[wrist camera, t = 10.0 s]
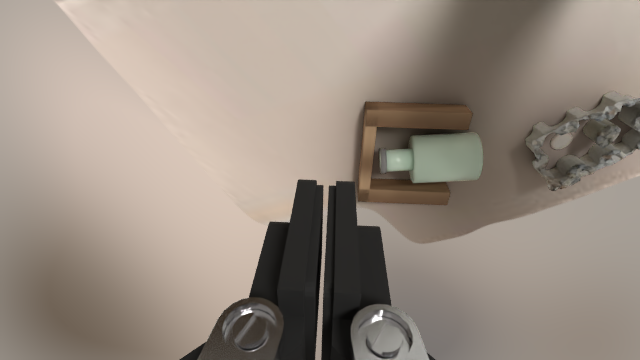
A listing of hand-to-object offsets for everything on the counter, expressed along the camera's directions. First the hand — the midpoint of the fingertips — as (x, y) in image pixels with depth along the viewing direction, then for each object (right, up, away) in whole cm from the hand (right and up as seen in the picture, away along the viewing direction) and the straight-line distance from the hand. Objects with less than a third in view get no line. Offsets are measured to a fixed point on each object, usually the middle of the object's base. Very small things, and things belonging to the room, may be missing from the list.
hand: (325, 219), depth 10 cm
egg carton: (+28, +7, +27) cm, 40 cm away
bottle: (+16, +4, +26) cm, 31 cm away
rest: (+10, +5, +29) cm, 31 cm away
